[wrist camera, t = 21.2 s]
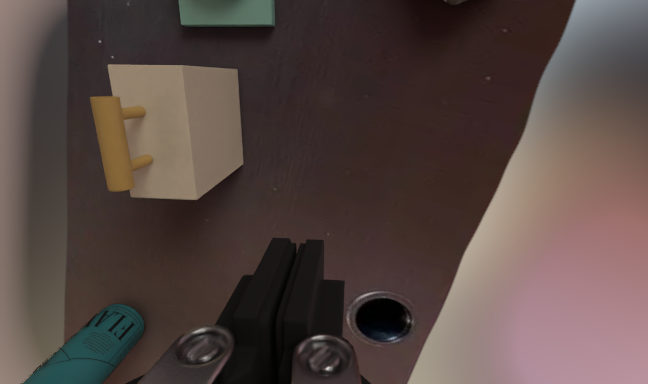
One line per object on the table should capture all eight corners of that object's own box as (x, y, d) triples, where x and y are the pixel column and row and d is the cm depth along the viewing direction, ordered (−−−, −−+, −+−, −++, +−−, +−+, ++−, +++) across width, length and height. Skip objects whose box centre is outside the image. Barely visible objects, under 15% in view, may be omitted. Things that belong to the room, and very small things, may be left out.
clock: (168, 221, 23) (84, 217, 23) (243, 164, 38) (192, 162, 39) (146, 62, 20) (49, 61, 20) (237, 69, 35) (181, 68, 36)
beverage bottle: (158, 307, 46) (21, 467, 27) (145, 342, 48) (10, 512, 29) (112, 287, 46) (-58, 435, 27) (102, 323, 48) (-63, 484, 29)
